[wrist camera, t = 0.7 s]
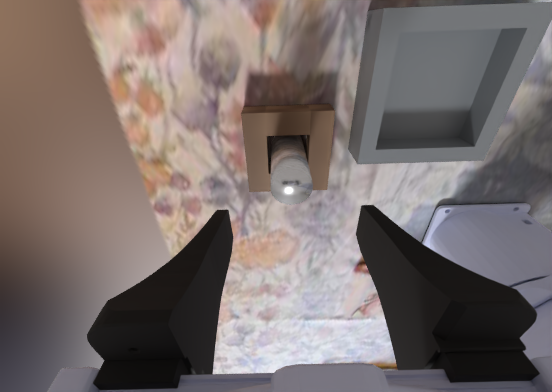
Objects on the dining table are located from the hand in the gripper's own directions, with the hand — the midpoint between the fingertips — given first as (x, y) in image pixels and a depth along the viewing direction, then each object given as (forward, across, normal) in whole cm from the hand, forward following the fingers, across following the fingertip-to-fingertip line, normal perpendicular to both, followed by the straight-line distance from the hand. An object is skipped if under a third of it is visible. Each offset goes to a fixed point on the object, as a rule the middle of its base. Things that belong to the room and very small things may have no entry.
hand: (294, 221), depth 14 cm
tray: (+10, -11, -4) cm, 16 cm away
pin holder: (+10, 0, 0) cm, 10 cm away
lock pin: (+10, 0, 0) cm, 10 cm away
